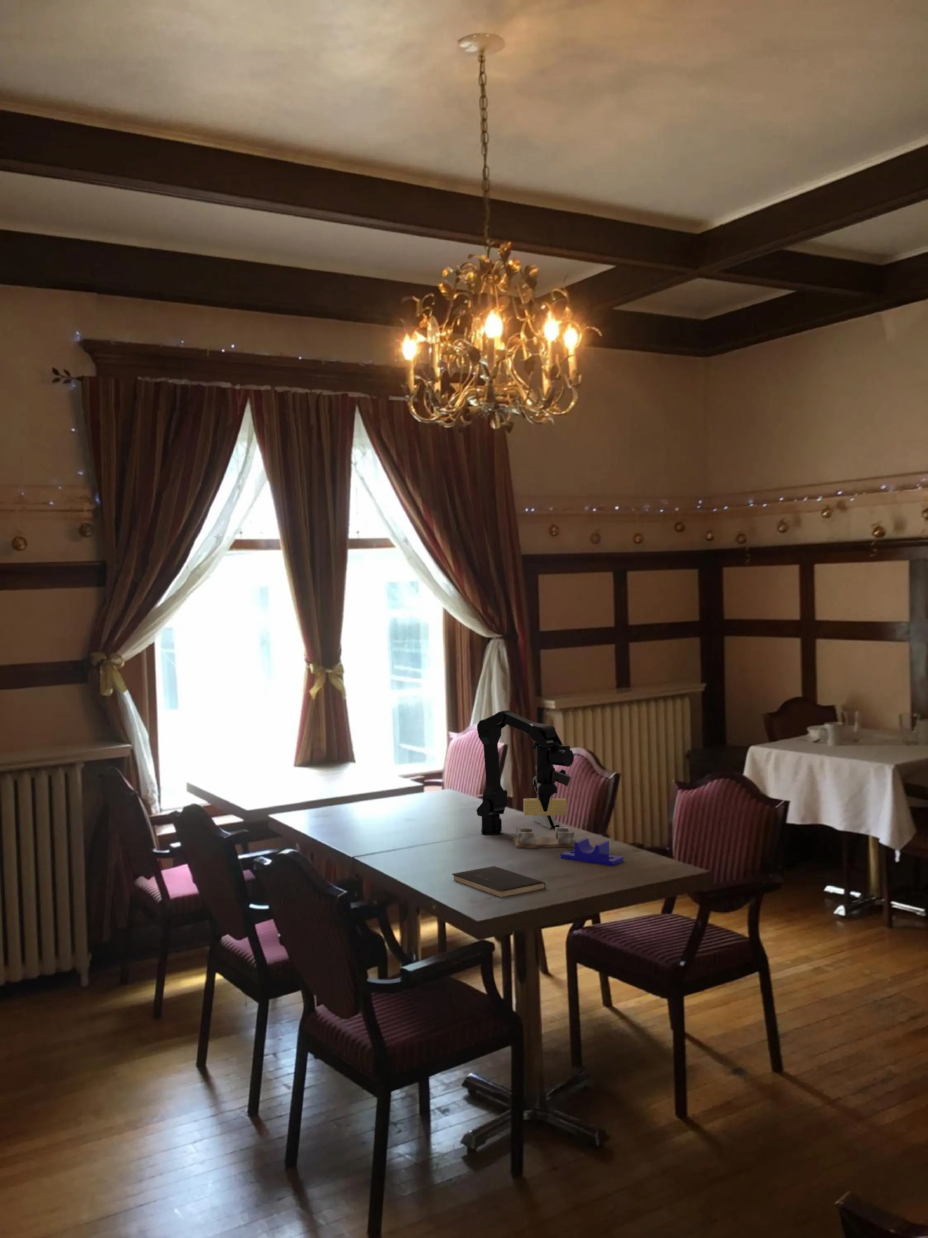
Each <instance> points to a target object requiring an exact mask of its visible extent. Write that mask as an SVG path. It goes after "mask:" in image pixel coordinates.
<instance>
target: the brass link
mask: <svg viewBox="0 0 928 1238" xmlns="http://www.w3.org/2000/svg"><path fill="white" fill-rule="evenodd" d="M567 801H568V800H567V798H566V797H565V798H564V797H560V798H559V797H556V798H555V797H554V798H553V797H550V801H549V805H548V810H547V812H544V811H543V808H542V805H541V802H540V800H539V798H538V797H537V798H536V797H535V798H533V797H532V798H529V797H528V798H523V816H527V817H528V816H531V815H554V816H567V814H568V813H567V811H568V809H567V808H568V805H567Z"/></svg>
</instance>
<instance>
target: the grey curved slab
mask: <svg viewBox="0 0 928 1238" xmlns="http://www.w3.org/2000/svg"><path fill="white" fill-rule="evenodd" d="M530 818H531V820H532V819H533V820H532V821H533V822H535V821H537V822H538V823H537V822H536V823H537V824H539V823H540V824H539V825H541V826H543V825H544V826H545V828H546V827H547V828H546V829H551V828H552V827H553V826H554V827H558V826H559V827H562V826H561V823H560V822H559V821H558V820H556V818H555V815H530ZM556 825H557V826H556ZM544 826H543V827H544Z"/></svg>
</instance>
